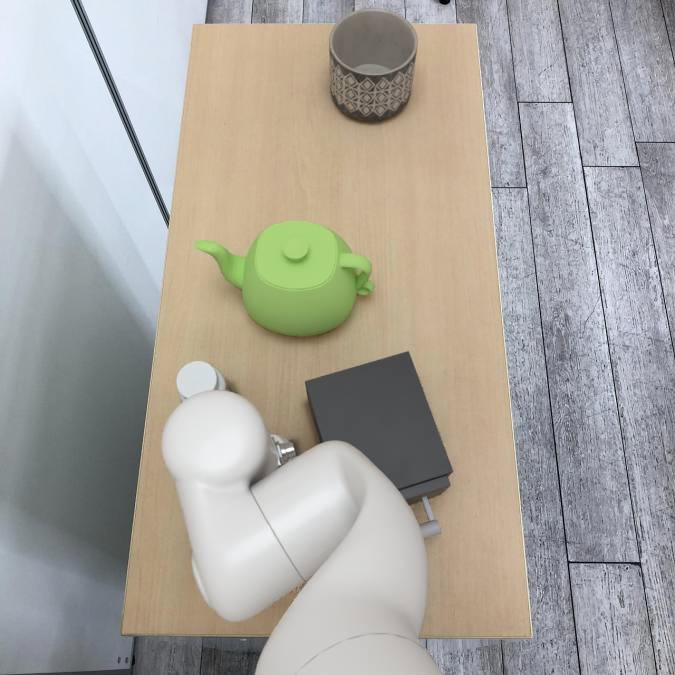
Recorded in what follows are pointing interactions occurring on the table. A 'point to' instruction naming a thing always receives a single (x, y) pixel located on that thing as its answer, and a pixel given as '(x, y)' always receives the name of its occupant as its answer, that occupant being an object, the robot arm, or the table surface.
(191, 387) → the pill bottle
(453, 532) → the table surface
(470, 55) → the table surface
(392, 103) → the planter
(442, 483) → the drawer with pull handle
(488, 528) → the table surface
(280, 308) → the teapot
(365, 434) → the drawer cabinet casing
